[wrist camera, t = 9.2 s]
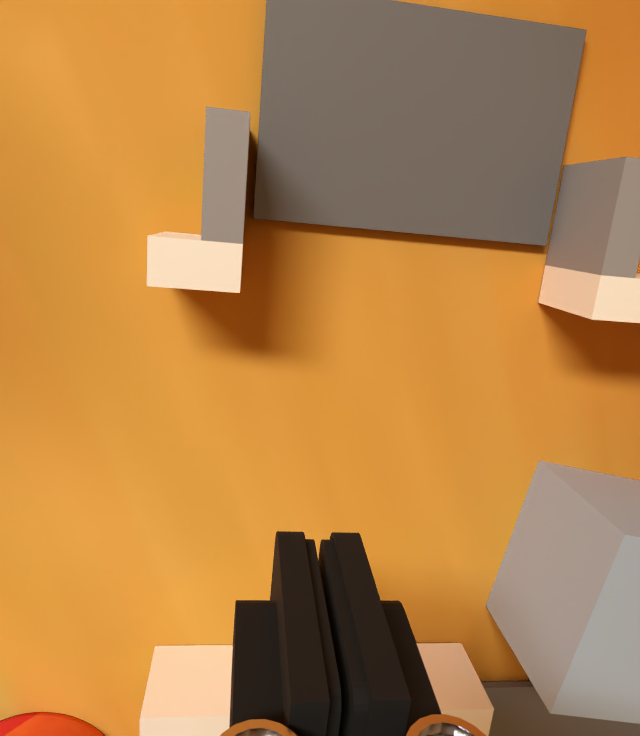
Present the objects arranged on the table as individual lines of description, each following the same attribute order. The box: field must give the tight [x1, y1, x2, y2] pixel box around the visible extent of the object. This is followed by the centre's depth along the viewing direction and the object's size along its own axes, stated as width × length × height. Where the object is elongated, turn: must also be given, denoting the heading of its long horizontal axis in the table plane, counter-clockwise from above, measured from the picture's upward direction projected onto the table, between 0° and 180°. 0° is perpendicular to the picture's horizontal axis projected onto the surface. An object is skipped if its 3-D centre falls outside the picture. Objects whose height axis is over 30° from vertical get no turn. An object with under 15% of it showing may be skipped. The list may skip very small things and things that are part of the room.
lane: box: [140, 0, 640, 736], centre depth 19 cm, size 29×24×3 cm
